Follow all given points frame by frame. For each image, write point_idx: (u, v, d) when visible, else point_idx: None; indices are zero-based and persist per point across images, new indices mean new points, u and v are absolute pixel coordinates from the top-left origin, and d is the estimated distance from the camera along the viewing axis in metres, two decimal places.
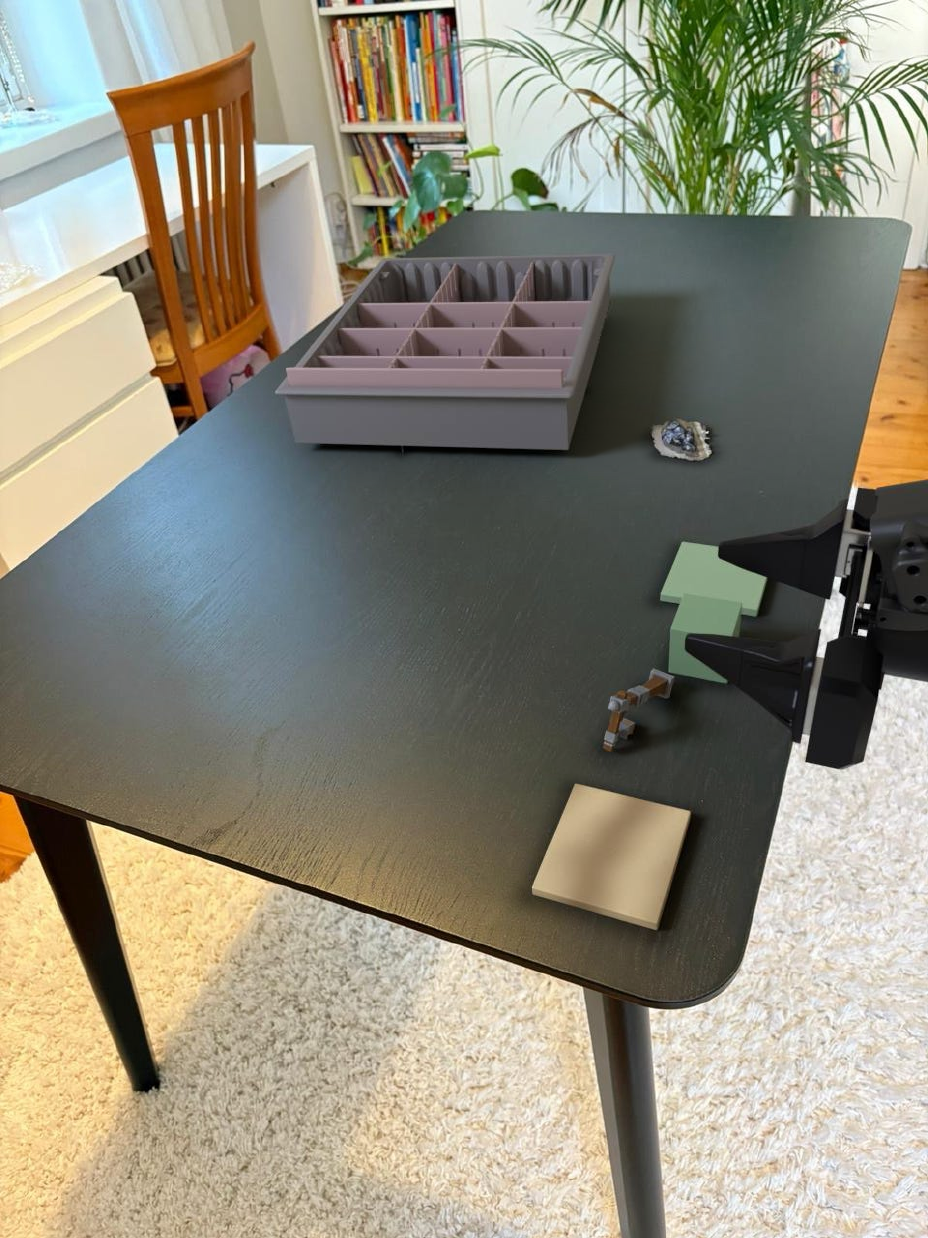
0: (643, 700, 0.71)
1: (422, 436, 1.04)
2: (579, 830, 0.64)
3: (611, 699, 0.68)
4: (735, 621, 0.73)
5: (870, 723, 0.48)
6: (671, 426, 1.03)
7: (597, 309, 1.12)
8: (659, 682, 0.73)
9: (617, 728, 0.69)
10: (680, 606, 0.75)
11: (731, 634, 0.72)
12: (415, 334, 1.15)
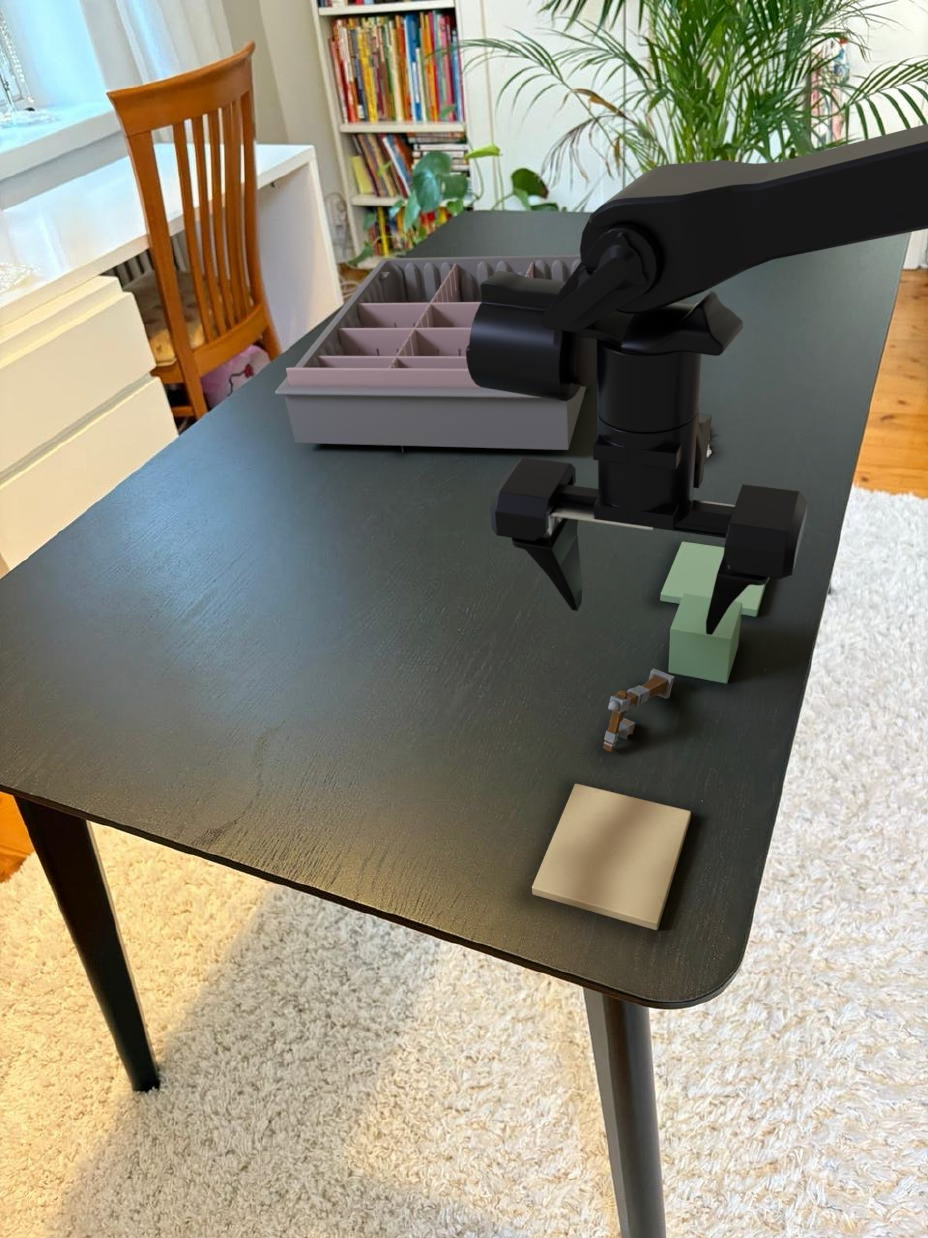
0: (643, 700, 0.71)
1: (422, 436, 1.04)
2: (579, 830, 0.64)
3: (611, 699, 0.68)
4: (735, 621, 0.73)
5: (513, 470, 0.63)
6: None
7: None
8: (659, 682, 0.73)
9: (617, 728, 0.69)
10: (680, 606, 0.75)
11: (731, 634, 0.72)
12: (415, 334, 1.15)
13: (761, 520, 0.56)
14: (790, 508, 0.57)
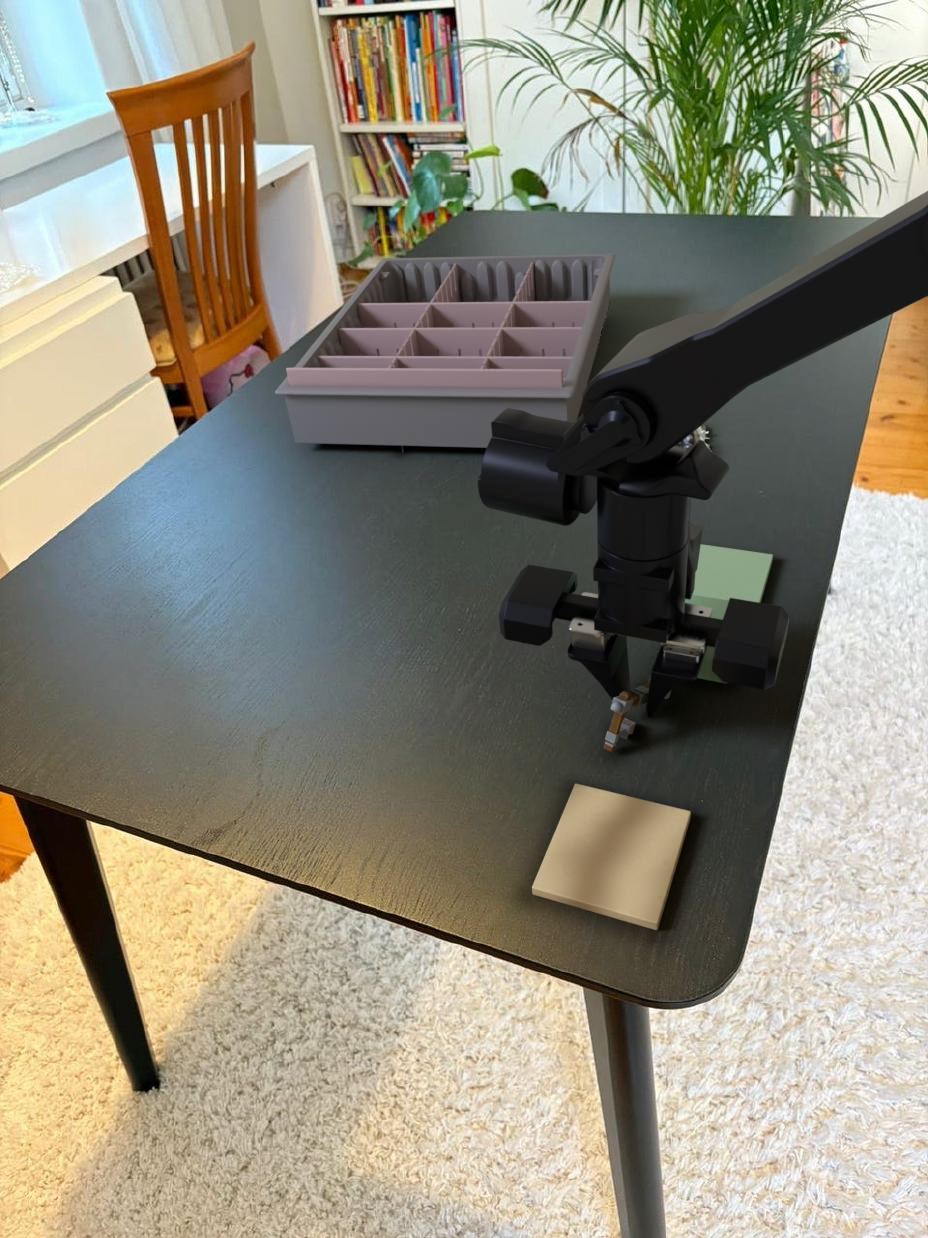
0: (644, 701, 0.71)
1: (422, 436, 1.04)
2: (579, 830, 0.64)
3: (614, 700, 0.68)
4: None
5: (520, 577, 0.69)
6: None
7: (597, 309, 1.12)
8: None
9: (618, 728, 0.69)
10: None
11: None
12: (415, 334, 1.15)
13: (746, 636, 0.62)
14: (773, 624, 0.62)
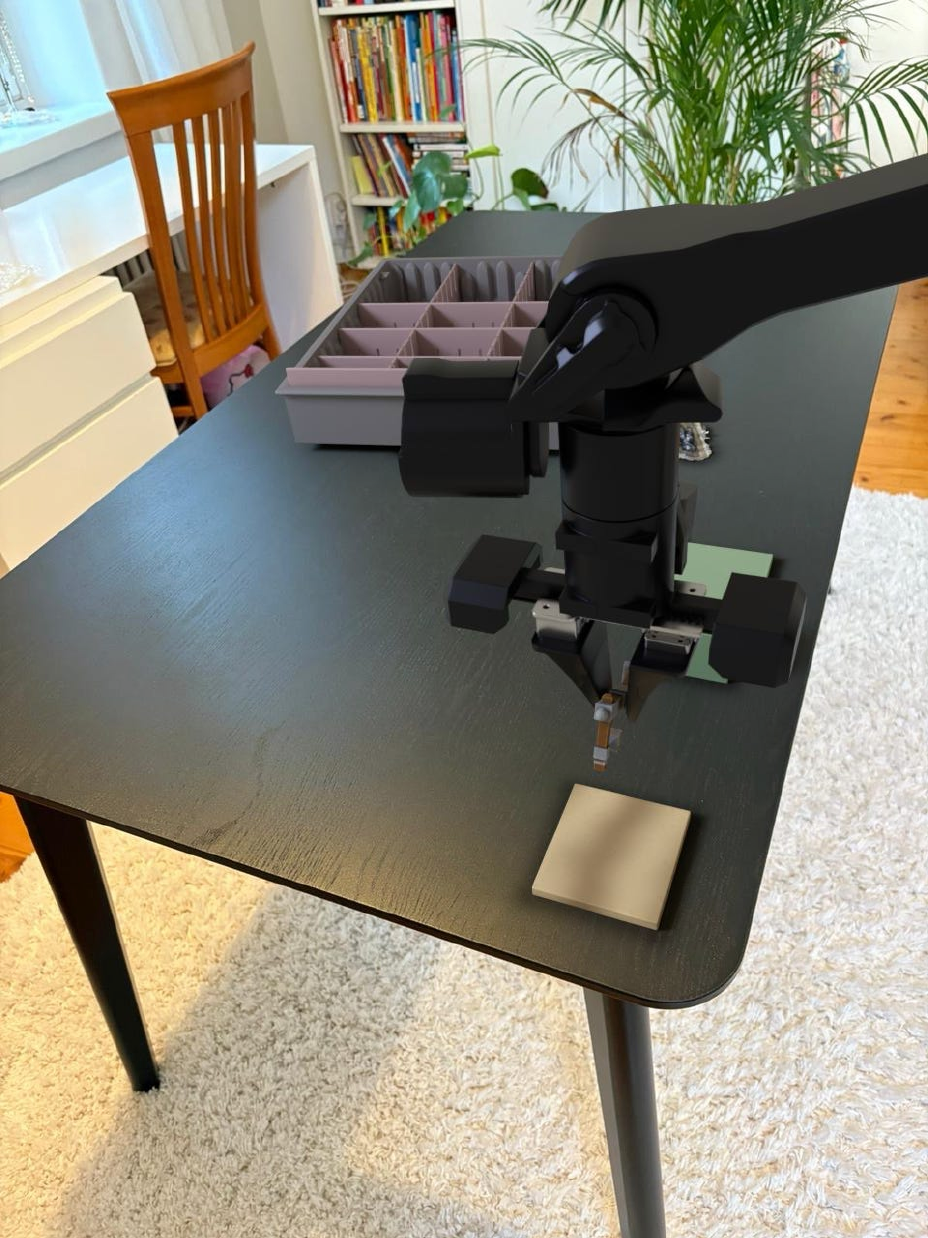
0: None
1: None
2: (579, 830, 0.64)
3: (596, 706, 0.54)
4: None
5: (470, 550, 0.55)
6: None
7: None
8: None
9: (607, 741, 0.55)
10: None
11: None
12: (415, 334, 1.15)
13: (752, 619, 0.48)
14: (786, 604, 0.49)
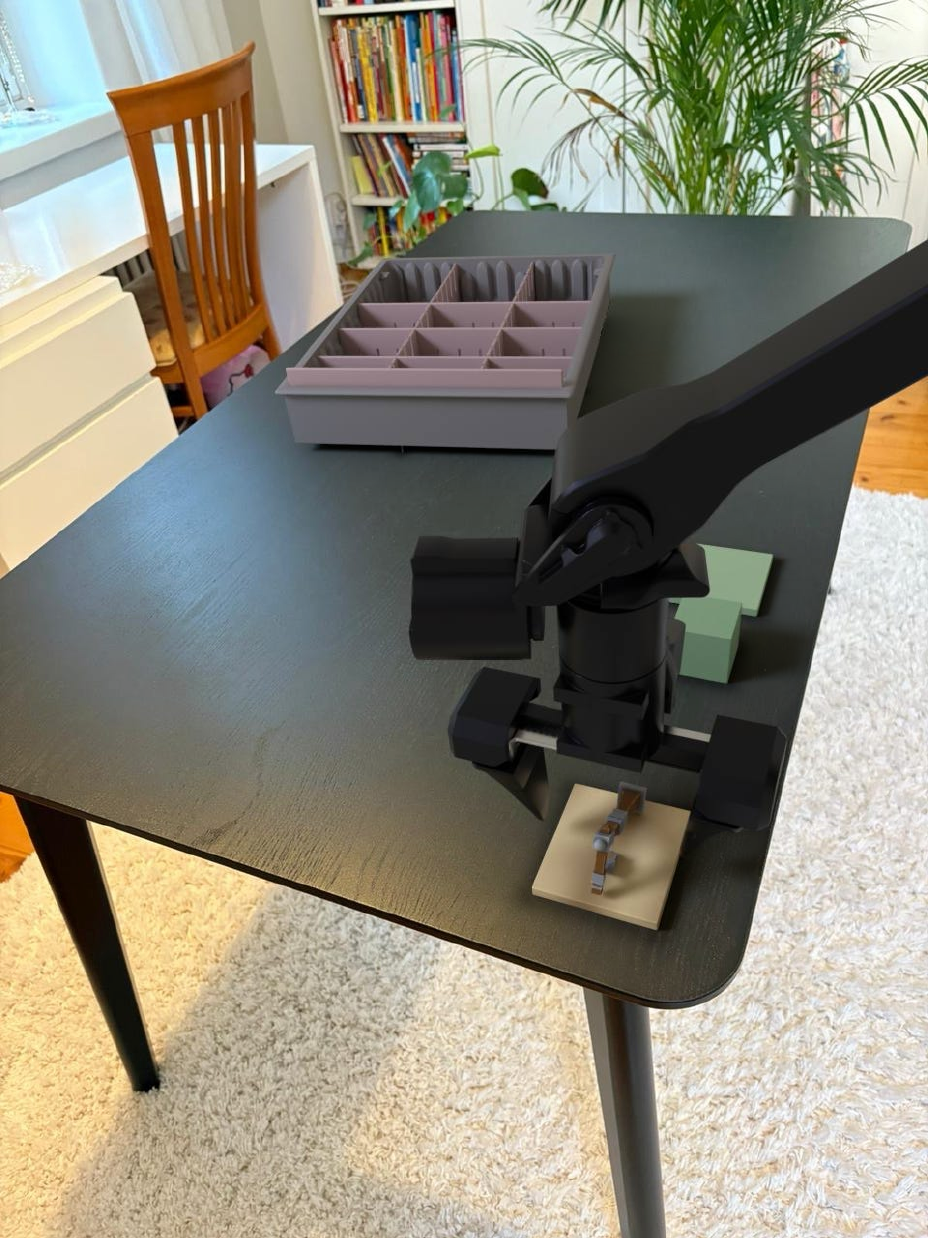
0: (623, 826, 0.61)
1: (422, 436, 1.04)
2: (579, 830, 0.64)
3: (595, 837, 0.58)
4: (735, 621, 0.73)
5: (473, 683, 0.59)
6: None
7: (596, 309, 1.12)
8: (632, 799, 0.63)
9: (604, 867, 0.59)
10: (680, 606, 0.75)
11: (731, 634, 0.72)
12: (415, 334, 1.15)
13: (736, 767, 0.52)
14: (767, 751, 0.52)
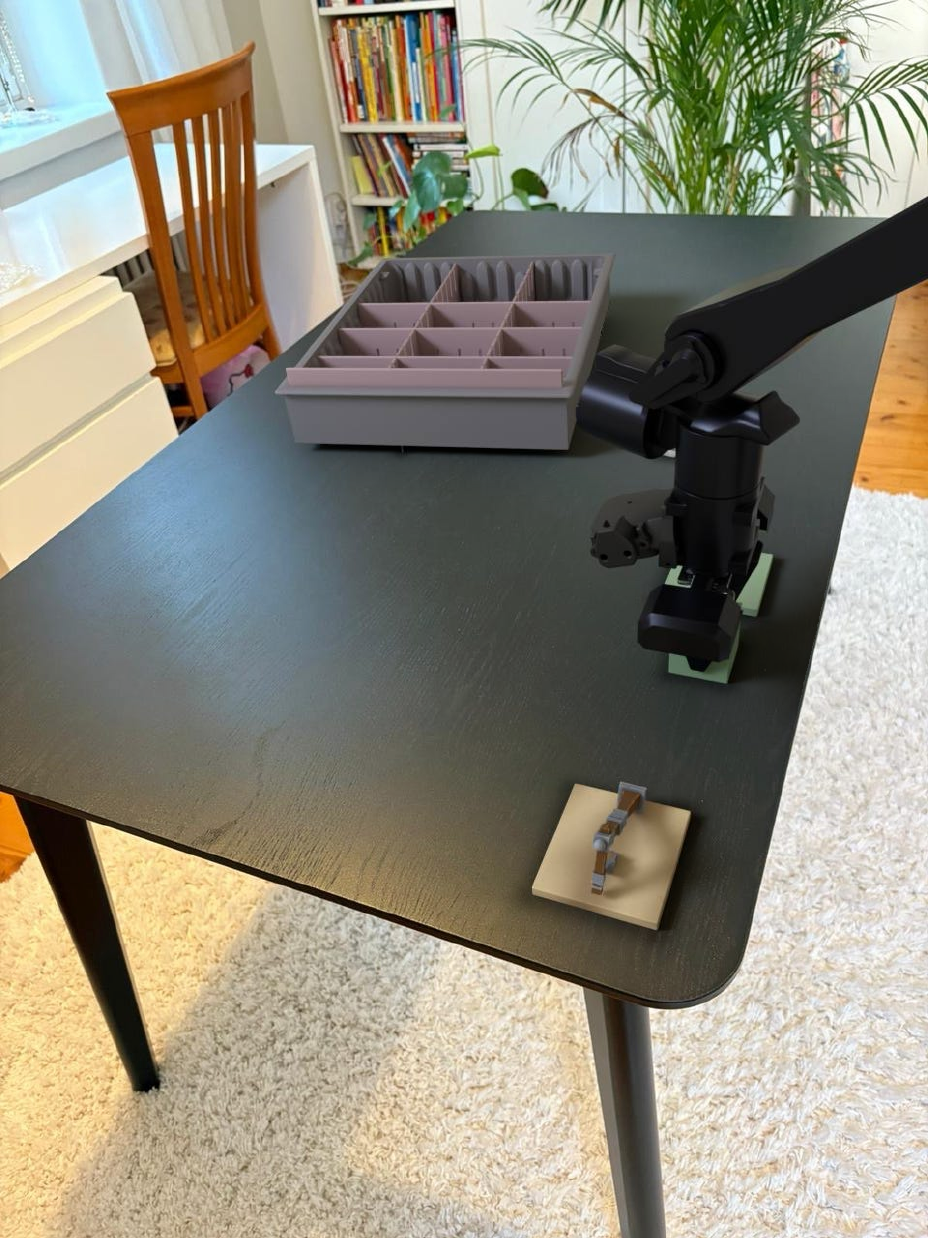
0: (623, 826, 0.61)
1: (422, 436, 1.04)
2: (579, 830, 0.64)
3: (595, 837, 0.58)
4: None
5: (674, 618, 0.64)
6: None
7: (596, 309, 1.12)
8: (632, 799, 0.63)
9: (604, 867, 0.59)
10: None
11: None
12: (415, 334, 1.15)
13: None
14: None
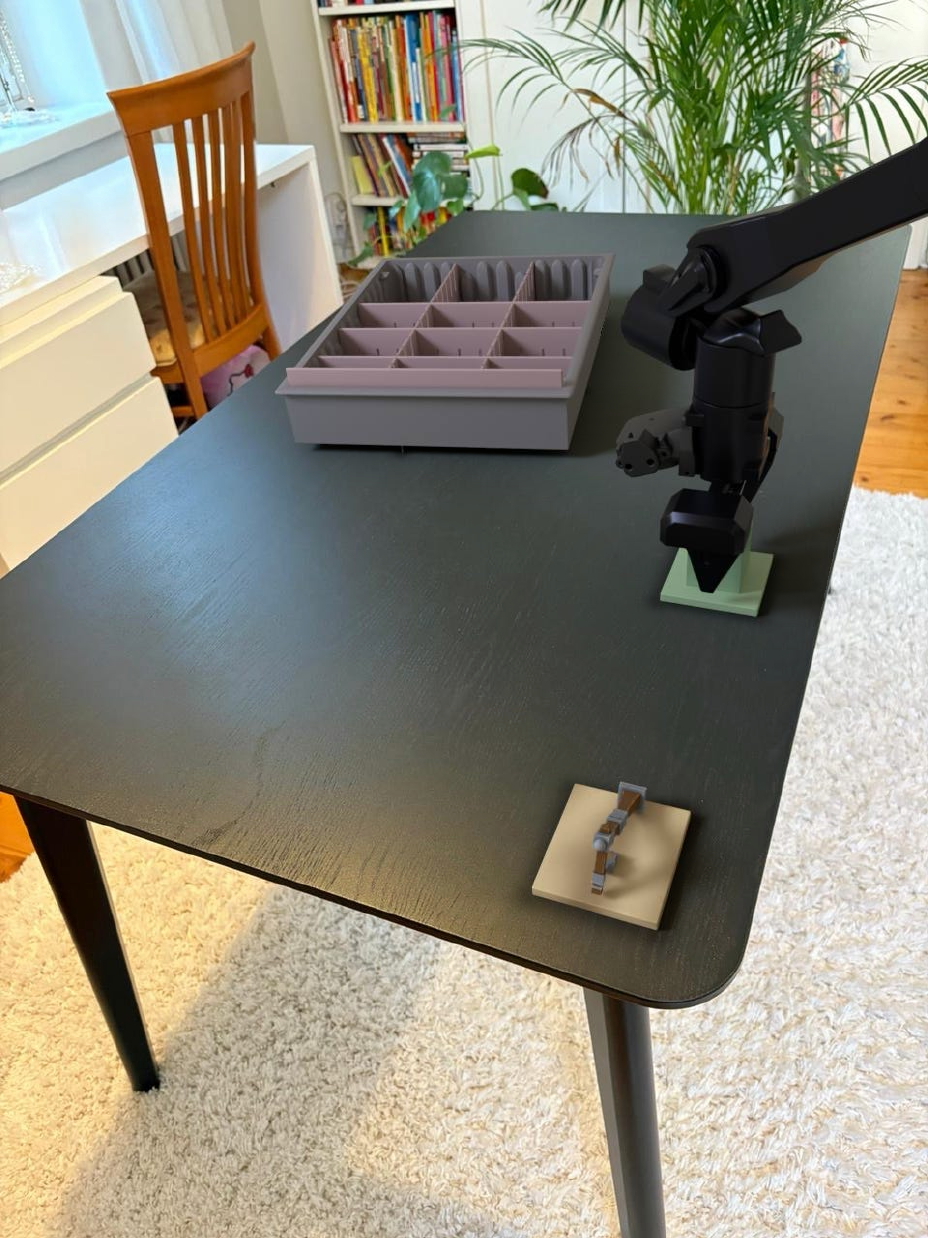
0: (623, 826, 0.61)
1: (422, 436, 1.04)
2: (579, 830, 0.64)
3: (595, 837, 0.58)
4: None
5: (694, 515, 0.70)
6: None
7: (596, 309, 1.12)
8: (632, 799, 0.63)
9: (604, 867, 0.59)
10: None
11: None
12: (415, 334, 1.15)
13: None
14: None
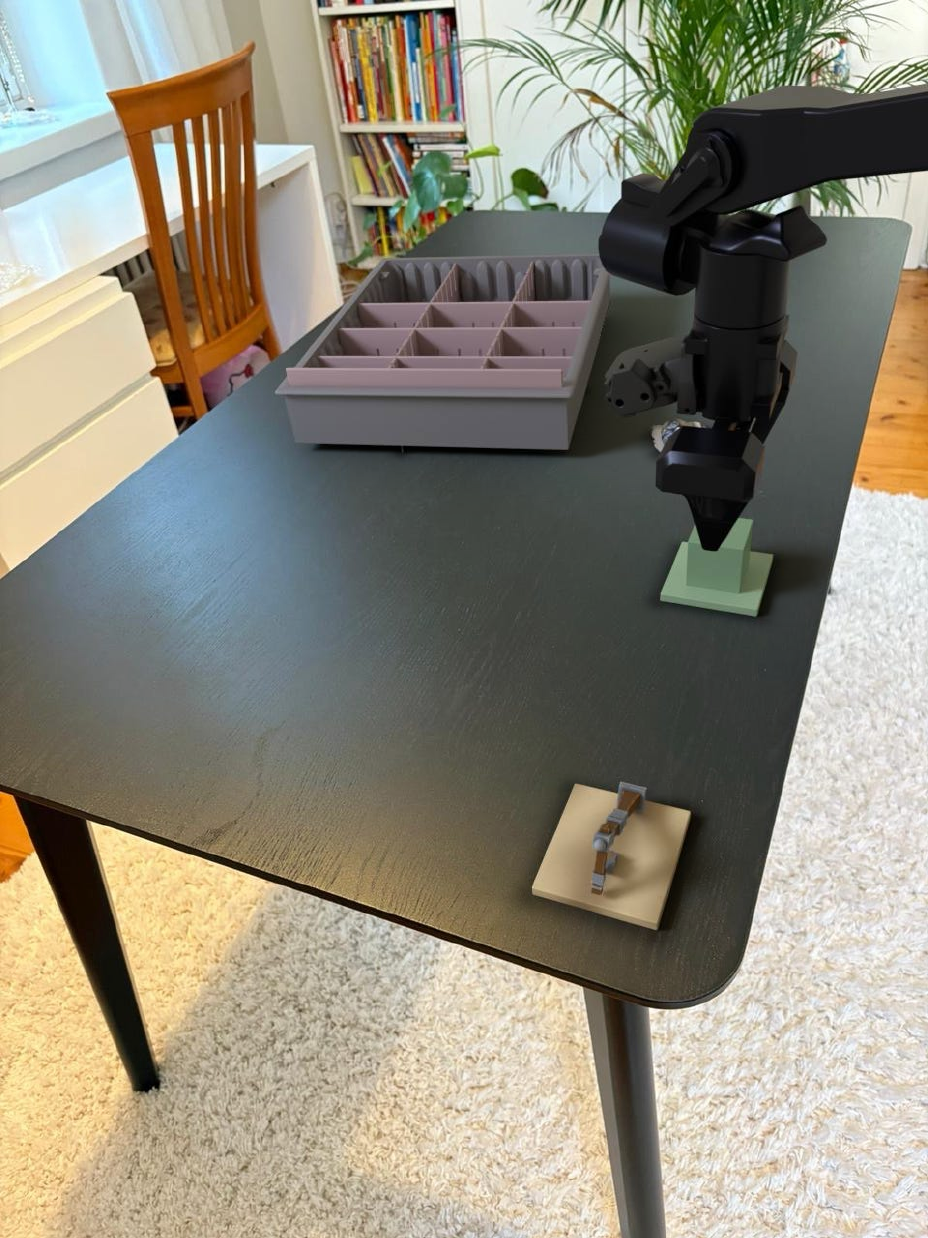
0: (623, 826, 0.61)
1: (422, 436, 1.04)
2: (579, 830, 0.64)
3: (595, 837, 0.58)
4: (747, 535, 0.80)
5: (695, 455, 0.60)
6: (671, 426, 1.03)
7: (596, 309, 1.12)
8: (632, 799, 0.63)
9: (604, 867, 0.59)
10: None
11: (744, 545, 0.79)
12: (415, 334, 1.15)
13: None
14: None
